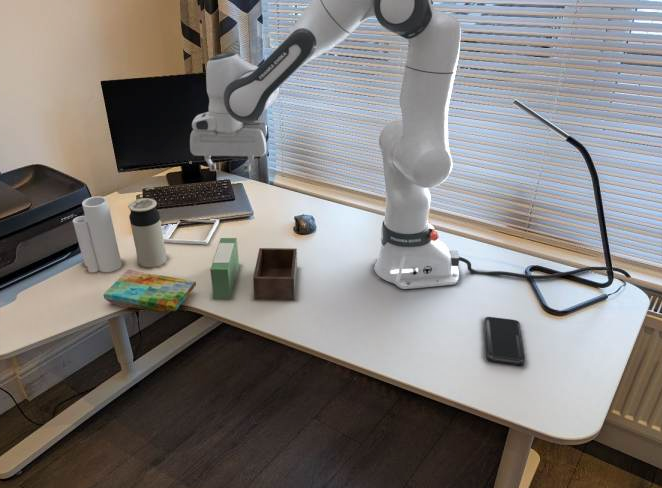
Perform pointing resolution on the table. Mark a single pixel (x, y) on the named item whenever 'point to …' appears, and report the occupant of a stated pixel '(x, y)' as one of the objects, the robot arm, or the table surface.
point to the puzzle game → (149, 291)
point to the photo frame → (168, 231)
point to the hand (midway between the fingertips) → (230, 170)
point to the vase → (97, 236)
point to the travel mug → (147, 232)
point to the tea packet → (225, 268)
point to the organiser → (275, 274)
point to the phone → (503, 341)
